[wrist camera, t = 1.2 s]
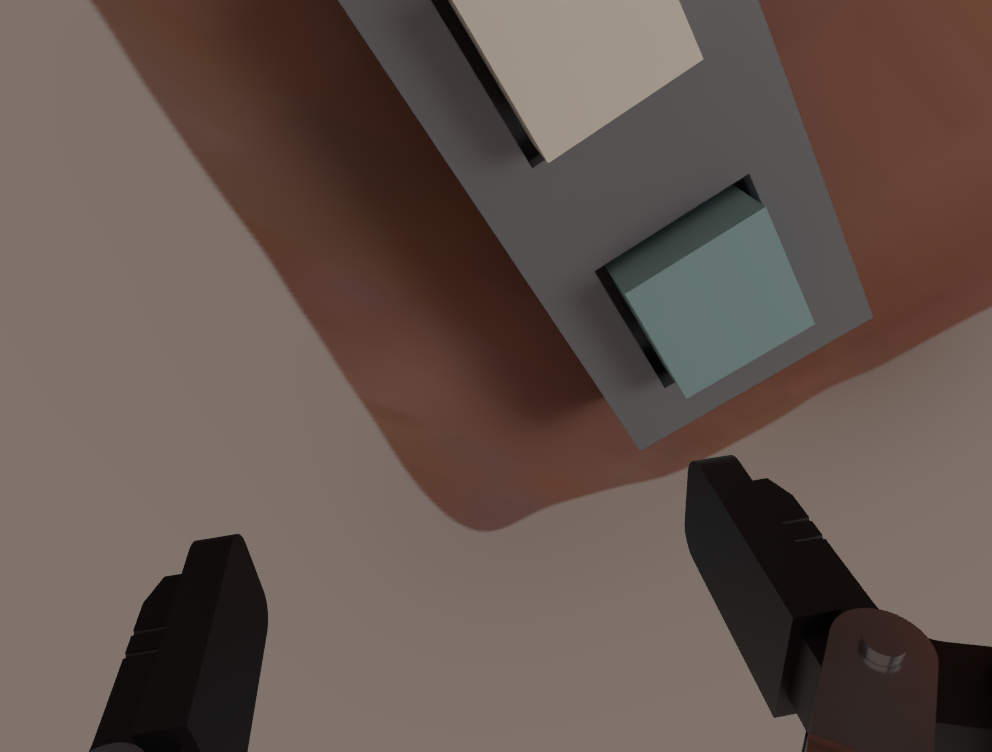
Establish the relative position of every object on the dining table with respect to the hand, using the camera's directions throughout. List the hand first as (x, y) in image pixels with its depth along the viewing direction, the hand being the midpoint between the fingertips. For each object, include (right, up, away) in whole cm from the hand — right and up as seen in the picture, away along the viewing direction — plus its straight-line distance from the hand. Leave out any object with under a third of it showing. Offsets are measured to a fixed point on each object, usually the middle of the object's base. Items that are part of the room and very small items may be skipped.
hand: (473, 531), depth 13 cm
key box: (+5, +13, +18) cm, 23 cm away
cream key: (+3, +15, +12) cm, 20 cm away
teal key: (+9, +7, +18) cm, 21 cm away
